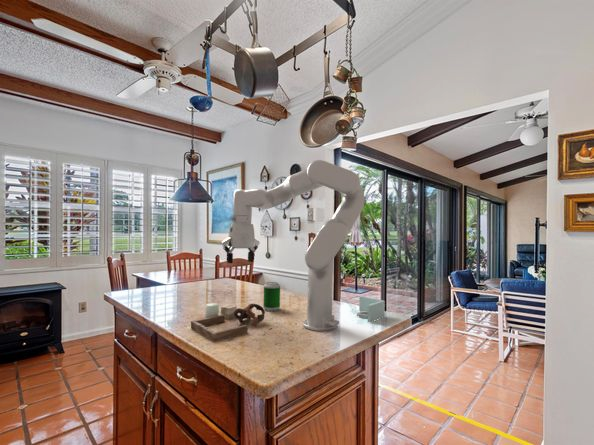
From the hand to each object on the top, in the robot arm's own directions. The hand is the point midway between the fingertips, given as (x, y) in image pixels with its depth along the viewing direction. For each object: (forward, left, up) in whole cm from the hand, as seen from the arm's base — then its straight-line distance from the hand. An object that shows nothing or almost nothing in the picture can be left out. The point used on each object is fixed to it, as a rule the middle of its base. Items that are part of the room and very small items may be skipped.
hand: (240, 262), depth 124 cm
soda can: (+4, -19, -23) cm, 31 cm away
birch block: (+6, +2, -23) cm, 24 cm away
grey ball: (+4, -6, -23) cm, 24 cm away
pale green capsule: (+7, +9, -23) cm, 26 cm away
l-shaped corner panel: (-30, -43, -24) cm, 58 cm away
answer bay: (-6, +13, -23) cm, 27 cm away
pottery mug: (-6, -1, -24) cm, 24 cm away
